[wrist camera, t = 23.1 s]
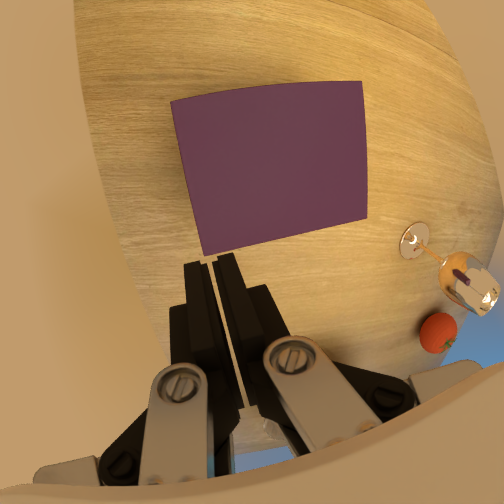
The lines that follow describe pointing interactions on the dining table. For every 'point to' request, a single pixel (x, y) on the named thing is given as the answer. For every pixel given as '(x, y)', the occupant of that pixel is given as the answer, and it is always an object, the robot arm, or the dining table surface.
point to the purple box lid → (273, 160)
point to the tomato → (438, 333)
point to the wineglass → (455, 272)
